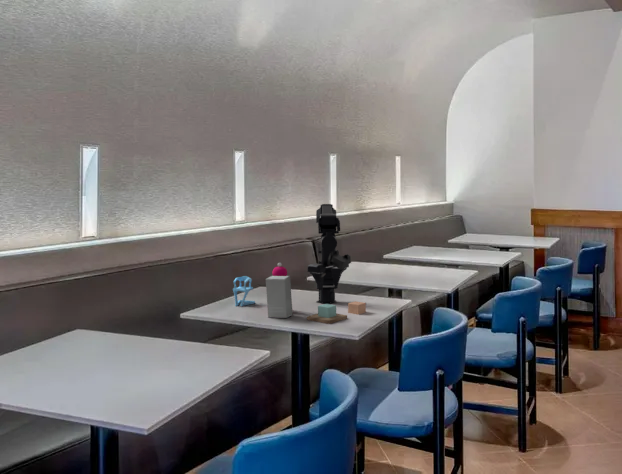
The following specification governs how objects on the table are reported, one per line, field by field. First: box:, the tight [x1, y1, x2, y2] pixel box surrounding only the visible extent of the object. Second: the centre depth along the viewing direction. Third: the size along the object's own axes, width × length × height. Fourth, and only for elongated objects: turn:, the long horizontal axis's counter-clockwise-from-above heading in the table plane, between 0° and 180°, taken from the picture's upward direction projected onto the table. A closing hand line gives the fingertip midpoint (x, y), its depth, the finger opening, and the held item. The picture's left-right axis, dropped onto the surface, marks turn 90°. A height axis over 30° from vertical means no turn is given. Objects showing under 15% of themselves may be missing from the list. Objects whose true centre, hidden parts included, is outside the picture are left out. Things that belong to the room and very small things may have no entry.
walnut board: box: [306, 312, 348, 325], centre depth 231 cm, size 11×11×1 cm
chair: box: [232, 275, 256, 307], centre depth 259 cm, size 8×8×12 cm
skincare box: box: [265, 275, 293, 319], centre depth 235 cm, size 8×7×16 cm
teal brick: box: [317, 303, 337, 318], centre depth 230 cm, size 5×5×4 cm
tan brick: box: [347, 301, 367, 315], centre depth 241 cm, size 5×5×4 cm
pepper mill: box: [271, 262, 288, 276], centre depth 244 cm, size 7×7×20 cm
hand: (328, 288), depth 230 cm, fingers open, 9 cm apart
